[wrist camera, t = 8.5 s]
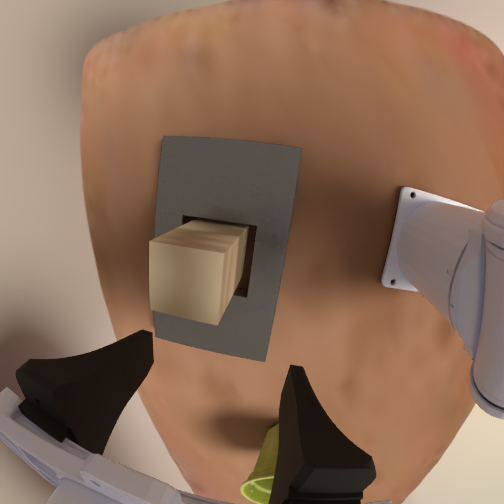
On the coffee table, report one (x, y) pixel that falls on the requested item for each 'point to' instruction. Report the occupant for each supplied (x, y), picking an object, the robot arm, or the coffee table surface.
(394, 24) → the coffee table surface
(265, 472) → the plant pot
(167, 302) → the birch peg
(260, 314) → the slotted plate
